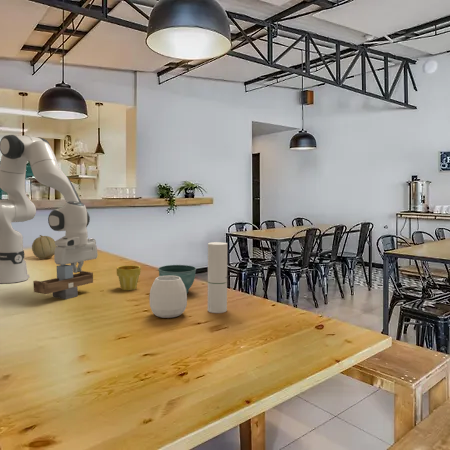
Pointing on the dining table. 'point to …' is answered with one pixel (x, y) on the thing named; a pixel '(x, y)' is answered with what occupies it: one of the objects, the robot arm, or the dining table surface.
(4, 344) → the dining table surface
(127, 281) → the plant pot
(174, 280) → the white vase
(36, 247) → the cantaloupe
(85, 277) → the beam
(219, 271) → the cylindrical container
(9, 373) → the dining table surface
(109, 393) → the dining table surface
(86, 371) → the dining table surface
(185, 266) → the flower pot
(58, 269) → the block
